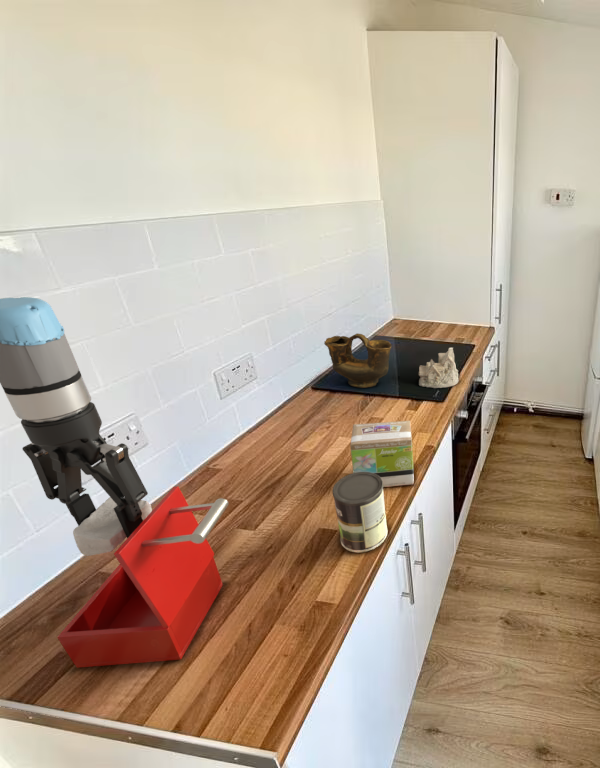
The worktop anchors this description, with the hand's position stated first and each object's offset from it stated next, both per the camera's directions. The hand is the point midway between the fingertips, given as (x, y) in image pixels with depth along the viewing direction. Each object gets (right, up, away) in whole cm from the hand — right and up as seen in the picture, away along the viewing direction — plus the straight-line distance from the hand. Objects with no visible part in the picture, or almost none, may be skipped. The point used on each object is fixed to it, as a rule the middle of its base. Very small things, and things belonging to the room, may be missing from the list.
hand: (115, 531), depth 71 cm
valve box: (+1, -19, +7) cm, 20 cm away
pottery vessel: (+7, +25, +97) cm, 100 cm away
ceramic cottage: (+36, +26, +103) cm, 112 cm away
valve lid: (+9, -4, 0) cm, 9 cm away
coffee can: (+32, -10, +28) cm, 43 cm away
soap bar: (0, 0, 0) cm, 0 cm away
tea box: (+31, -1, +46) cm, 56 cm away
